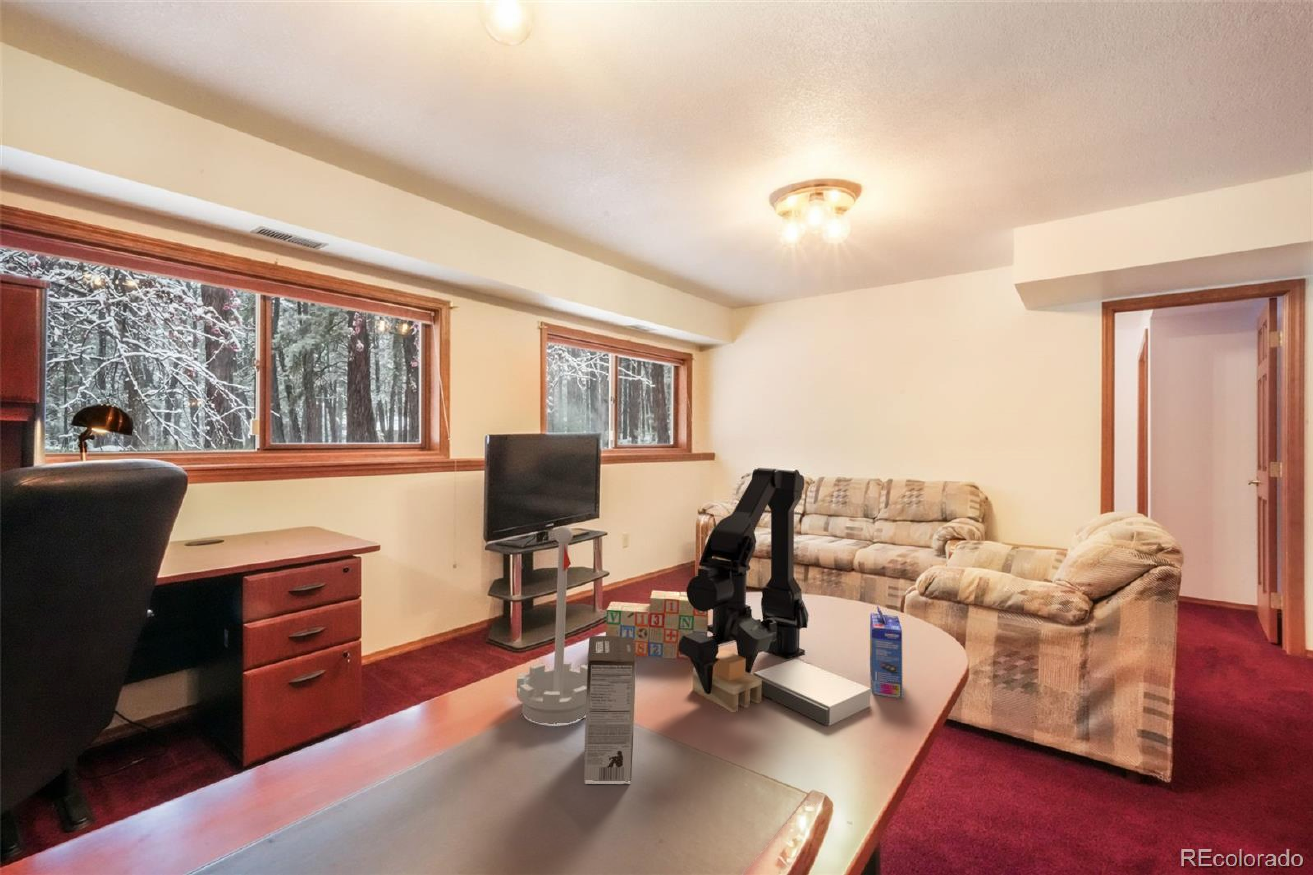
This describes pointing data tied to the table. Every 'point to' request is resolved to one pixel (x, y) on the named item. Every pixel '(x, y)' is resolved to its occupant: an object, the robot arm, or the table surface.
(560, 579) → the flag stand
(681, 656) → the stack of blocks
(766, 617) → the robot arm
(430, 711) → the table surface
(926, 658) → the table surface
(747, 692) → the pallet
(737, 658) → the tan cardboard cube
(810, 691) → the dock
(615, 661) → the coffee box
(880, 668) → the ink cartridge box
